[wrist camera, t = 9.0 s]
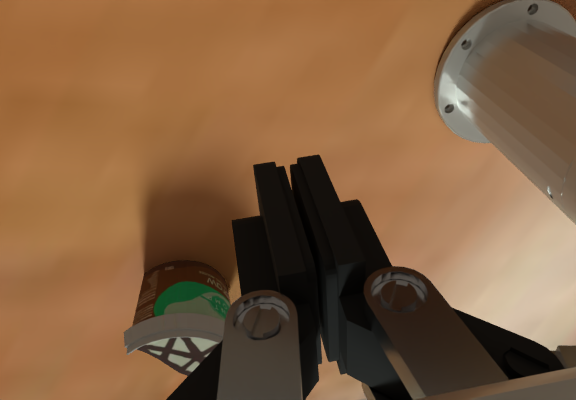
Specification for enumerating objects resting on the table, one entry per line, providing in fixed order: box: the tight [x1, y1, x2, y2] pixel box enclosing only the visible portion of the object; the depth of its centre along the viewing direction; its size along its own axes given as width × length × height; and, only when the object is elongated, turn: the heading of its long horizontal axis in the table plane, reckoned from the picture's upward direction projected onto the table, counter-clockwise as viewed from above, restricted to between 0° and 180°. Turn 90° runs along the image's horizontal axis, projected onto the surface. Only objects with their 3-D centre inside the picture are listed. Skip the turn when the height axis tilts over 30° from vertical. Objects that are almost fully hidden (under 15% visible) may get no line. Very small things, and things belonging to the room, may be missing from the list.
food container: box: [124, 261, 231, 376], centre depth 46 cm, size 12×6×10 cm, turn 41°
